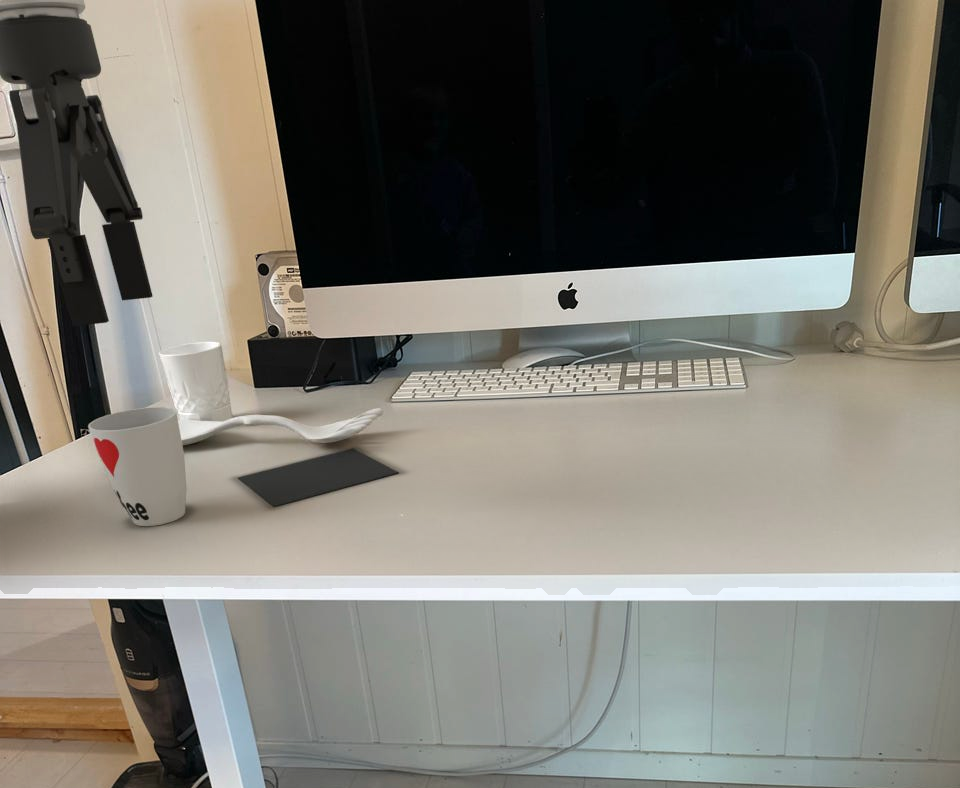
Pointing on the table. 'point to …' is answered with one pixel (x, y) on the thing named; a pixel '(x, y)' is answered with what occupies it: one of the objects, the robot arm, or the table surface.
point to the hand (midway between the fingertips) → (116, 310)
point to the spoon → (322, 434)
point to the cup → (144, 462)
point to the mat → (315, 476)
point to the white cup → (197, 381)
